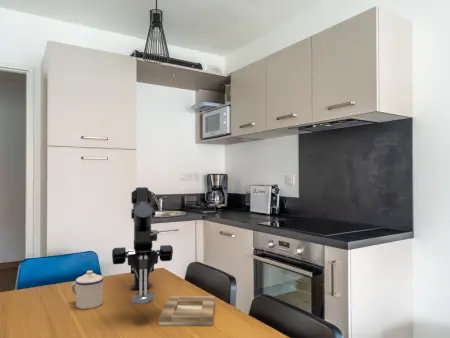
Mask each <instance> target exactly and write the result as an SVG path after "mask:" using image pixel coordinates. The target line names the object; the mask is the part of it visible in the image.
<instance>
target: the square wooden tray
mask: <svg viewBox="0 0 450 338" xmlns="http://www.w3.org/2000/svg"><path fill="white" fill-rule="evenodd" d="M215 297H216V296H215V295H169V296H168V298H167V300H166V302H165V303H164V306H163V308H162V310H161V312H160V315H159V316H158V317H159V318H158V326H189V327H190V326H194V327H195V326H210V327H211V326H213V323H214V311H215V302H216V301H215Z"/></svg>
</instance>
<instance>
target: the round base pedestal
mask: <svg viewBox="0 0 450 338" xmlns="http://www.w3.org/2000/svg"><path fill="white" fill-rule="evenodd" d="M142 269H144V290H142ZM139 270H140V279H139V292H137V293H134V294H132V300H131V301H132V303H133V304H135V305H146V304H150V303H152V302H154V299H155V298H154V297H155V295H154V293H153V292H151V291H148V289H147V254H144V257H142V254H140V257H139Z"/></svg>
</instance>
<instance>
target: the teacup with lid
mask: <svg viewBox="0 0 450 338" xmlns="http://www.w3.org/2000/svg"><path fill="white" fill-rule="evenodd" d="M103 281H104V277H103V275H101V274H97V273H94V272H93V270H87V271H86V273H85V274H83V275H82V276H78V277H77V278H76V279H75V282H73V283H72V284H71V286H70V289H71V294H72V295H73V296H74V297H75V306H76V308H77V309H81V310H88V309H89V310H90V309H94V308H98V307H100V306H101V305H102V304H103V298H104V297H103V295H104V294H103V293H104V292H103V287H104V285H103Z"/></svg>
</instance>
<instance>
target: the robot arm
mask: <svg viewBox="0 0 450 338" xmlns="http://www.w3.org/2000/svg"><path fill="white" fill-rule="evenodd" d="M130 195H131V196H130V197H131V199H130V200H131V204H132V208H131V211H130V212H131V215H130V216H131V219H132V220H133V223H134V225H133V249H129V250H127V249H126V246H125V247H113V249H112V251H111V253H112V254H111V256H112V257H111V258H112V265H123V264H125V263H126V259H127V265H128V266H129V267H130V275H132V274H133V277H134V279H133V286H132V287H131V290H133V291H134V290H139V279H140V270H139V257H140V254H142V257H144V254H147V290H149V289H150V287H151V286H152V283H150V275H151V273H153V272H154V271H155V265H157V264H158V263H159V260H160V261H161V262H170V261H172V260H173V254H174V253H173V252H174V249H173V246H172V245H171V244H167V245H165V244H162V245H160V246H159V249H153V242H157V241H158V230H157V229H153V230H152V220H153V219H154V218H155V216H157V215H156V211H155V210H154V208H152V202H153V192H152V191H150V190H149V187H146V186H143V187H142V186H141V187H139V186H138V187H135V190H133V191H132V192H131V193H130ZM142 291H144V269H142Z"/></svg>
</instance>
